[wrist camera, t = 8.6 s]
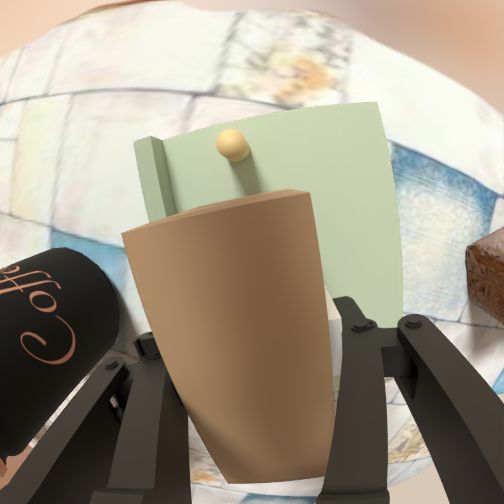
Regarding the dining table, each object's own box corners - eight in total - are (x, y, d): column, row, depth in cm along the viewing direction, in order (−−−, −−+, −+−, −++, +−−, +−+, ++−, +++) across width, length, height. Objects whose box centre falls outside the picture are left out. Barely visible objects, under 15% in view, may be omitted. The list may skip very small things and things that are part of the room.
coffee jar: (145, 302, 21) (-2, 466, 4) (99, 365, 24) (4, 485, 6) (64, 219, 20) (-111, 279, 3) (33, 296, 23) (-83, 372, 5)
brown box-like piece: (244, 377, 18) (228, 483, 10) (200, 206, 16) (121, 233, 7) (315, 367, 18) (336, 473, 9) (288, 188, 15) (312, 191, 6)
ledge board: (222, 396, 23) (214, 430, 19) (155, 147, 18) (125, 139, 14) (392, 366, 21) (410, 396, 17) (369, 107, 17) (394, 89, 12)
